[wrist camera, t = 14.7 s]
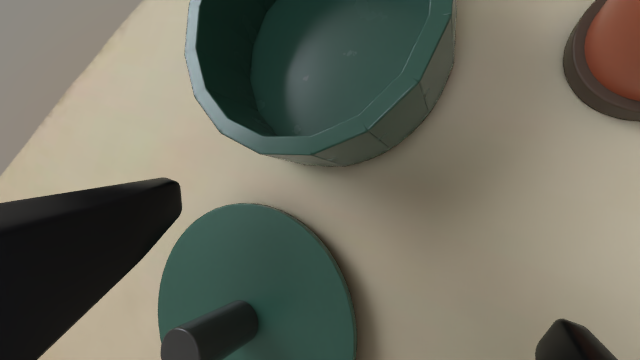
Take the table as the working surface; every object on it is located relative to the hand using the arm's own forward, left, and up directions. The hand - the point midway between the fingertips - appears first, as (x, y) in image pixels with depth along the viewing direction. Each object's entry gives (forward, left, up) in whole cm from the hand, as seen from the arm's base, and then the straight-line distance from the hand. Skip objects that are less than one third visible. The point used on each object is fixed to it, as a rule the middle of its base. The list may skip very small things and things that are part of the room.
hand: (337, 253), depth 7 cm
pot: (+7, +7, -10) cm, 14 cm away
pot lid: (-9, +5, -9) cm, 14 cm away
